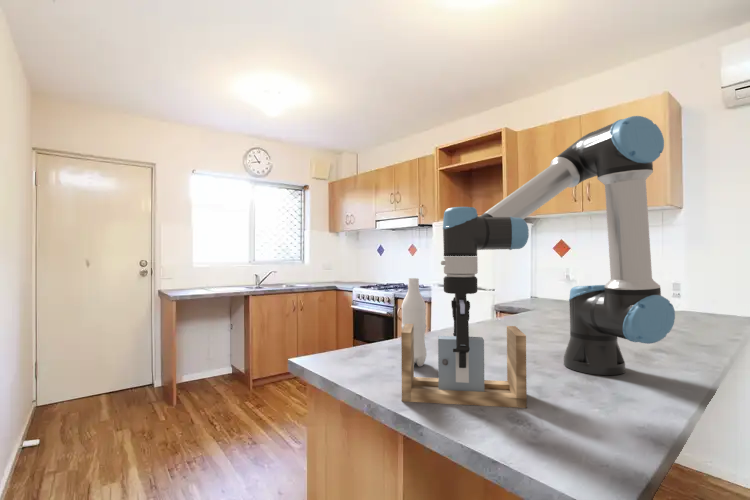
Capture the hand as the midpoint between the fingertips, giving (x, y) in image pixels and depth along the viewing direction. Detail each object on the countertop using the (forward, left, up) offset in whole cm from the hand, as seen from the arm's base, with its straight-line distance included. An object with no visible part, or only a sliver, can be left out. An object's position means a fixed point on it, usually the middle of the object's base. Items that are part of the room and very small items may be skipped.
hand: (461, 375), depth 89 cm
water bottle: (+12, -23, -5) cm, 27 cm away
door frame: (0, 0, -5) cm, 5 cm away
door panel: (0, 0, -4) cm, 4 cm away
